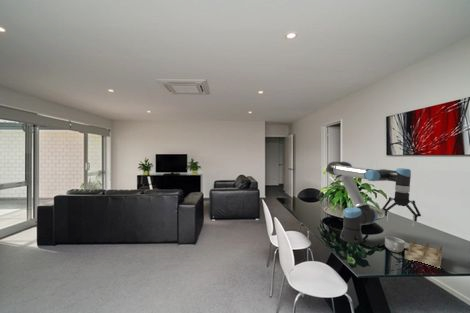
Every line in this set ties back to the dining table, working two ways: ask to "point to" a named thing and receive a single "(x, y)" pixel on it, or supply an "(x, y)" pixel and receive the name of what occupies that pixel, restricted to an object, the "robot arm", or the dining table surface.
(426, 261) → the rack
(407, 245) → the saucer
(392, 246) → the teacup
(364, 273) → the dining table surface
